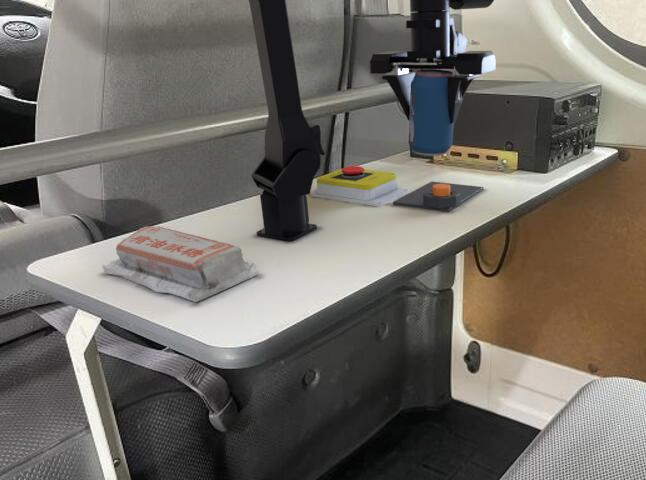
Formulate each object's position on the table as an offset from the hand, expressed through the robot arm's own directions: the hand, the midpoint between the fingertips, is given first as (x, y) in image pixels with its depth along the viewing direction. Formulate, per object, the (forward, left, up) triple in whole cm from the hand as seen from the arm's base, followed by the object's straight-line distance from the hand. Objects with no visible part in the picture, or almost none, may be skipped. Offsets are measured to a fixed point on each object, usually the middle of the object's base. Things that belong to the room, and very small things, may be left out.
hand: (431, 121), depth 98 cm
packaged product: (-41, +14, -13) cm, 46 cm away
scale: (+2, 0, -13) cm, 13 cm away
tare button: (-2, -3, -11) cm, 11 cm away
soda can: (0, 0, -5) cm, 5 cm away
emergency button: (-1, +14, -13) cm, 19 cm away
